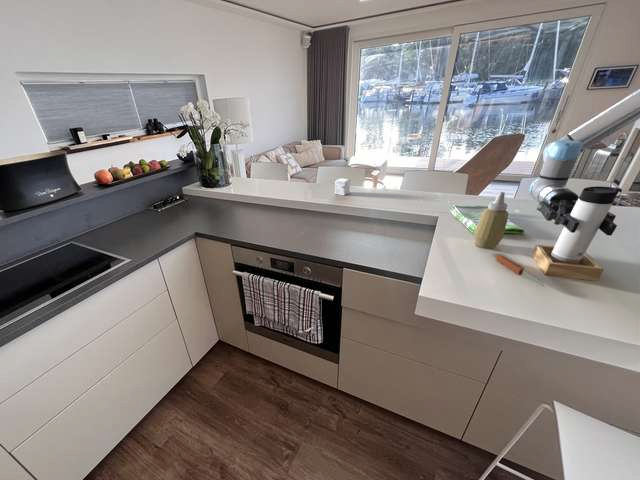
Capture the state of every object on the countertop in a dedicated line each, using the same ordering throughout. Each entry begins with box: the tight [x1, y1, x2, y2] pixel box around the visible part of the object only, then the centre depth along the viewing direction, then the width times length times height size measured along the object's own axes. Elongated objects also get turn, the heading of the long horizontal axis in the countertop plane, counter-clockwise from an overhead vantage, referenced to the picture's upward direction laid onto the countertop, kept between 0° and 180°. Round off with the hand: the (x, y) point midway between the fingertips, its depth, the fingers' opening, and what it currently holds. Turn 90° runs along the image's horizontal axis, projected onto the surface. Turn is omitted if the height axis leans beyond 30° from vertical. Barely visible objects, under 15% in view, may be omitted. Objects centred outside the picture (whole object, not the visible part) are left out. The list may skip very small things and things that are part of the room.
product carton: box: [334, 177, 351, 196], centre depth 155 cm, size 6×6×7 cm
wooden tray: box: [531, 244, 605, 282], centre depth 81 cm, size 12×11×4 cm
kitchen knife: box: [495, 255, 544, 287], centre depth 80 cm, size 16×1×2 cm, turn 6°
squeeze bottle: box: [473, 191, 509, 250], centre depth 91 cm, size 8×8×18 cm
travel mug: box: [551, 185, 623, 263], centre depth 75 cm, size 6×7×20 cm
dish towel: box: [449, 204, 525, 235], centre depth 111 cm, size 17×23×4 cm
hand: (593, 229), depth 71 cm, fingers closed on travel mug, 6 cm apart
